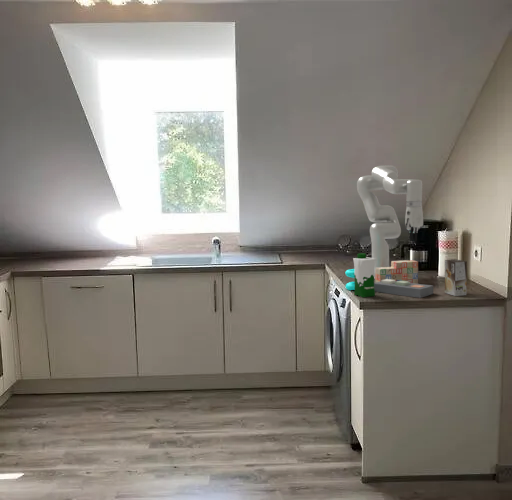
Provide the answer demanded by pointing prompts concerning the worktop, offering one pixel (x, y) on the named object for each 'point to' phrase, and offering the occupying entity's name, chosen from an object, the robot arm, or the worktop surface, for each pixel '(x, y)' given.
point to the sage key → (402, 283)
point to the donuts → (351, 274)
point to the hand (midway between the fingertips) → (413, 240)
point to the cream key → (388, 281)
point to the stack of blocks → (398, 271)
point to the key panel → (404, 289)
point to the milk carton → (364, 275)
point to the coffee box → (456, 277)
